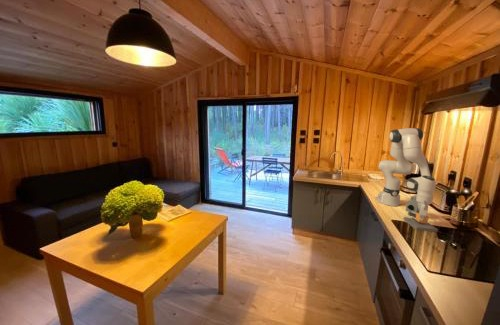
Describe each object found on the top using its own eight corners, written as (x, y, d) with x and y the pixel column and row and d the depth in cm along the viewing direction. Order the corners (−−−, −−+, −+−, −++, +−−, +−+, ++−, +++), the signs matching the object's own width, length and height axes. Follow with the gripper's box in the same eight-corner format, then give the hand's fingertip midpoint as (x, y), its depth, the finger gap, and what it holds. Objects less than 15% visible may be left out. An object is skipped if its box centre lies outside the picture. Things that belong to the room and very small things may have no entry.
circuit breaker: (403, 215, 171) (406, 197, 168) (413, 212, 177) (416, 195, 175) (414, 219, 164) (417, 200, 162) (423, 216, 171) (427, 198, 168)
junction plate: (403, 219, 163) (404, 210, 161) (422, 221, 161) (424, 212, 160) (416, 229, 147) (418, 220, 146) (437, 232, 145) (439, 222, 144)
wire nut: (415, 219, 156) (416, 211, 155) (423, 220, 155) (424, 211, 154) (419, 222, 151) (420, 213, 150) (427, 223, 150) (428, 214, 149)
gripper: (431, 204, 140) (427, 224, 143) (428, 196, 157) (424, 214, 160) (419, 202, 144) (416, 222, 146) (417, 194, 161) (414, 212, 163)
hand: (420, 218), depth 153 cm, fingers closed on wire nut, 6 cm apart
